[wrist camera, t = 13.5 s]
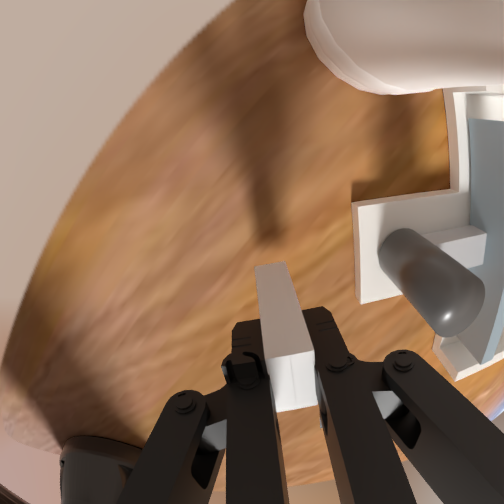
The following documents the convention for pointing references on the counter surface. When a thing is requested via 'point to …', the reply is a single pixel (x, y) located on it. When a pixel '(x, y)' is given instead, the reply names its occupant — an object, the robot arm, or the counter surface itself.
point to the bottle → (409, 43)
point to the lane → (428, 216)
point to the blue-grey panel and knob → (460, 256)
